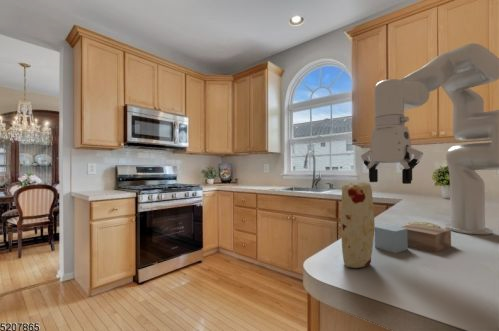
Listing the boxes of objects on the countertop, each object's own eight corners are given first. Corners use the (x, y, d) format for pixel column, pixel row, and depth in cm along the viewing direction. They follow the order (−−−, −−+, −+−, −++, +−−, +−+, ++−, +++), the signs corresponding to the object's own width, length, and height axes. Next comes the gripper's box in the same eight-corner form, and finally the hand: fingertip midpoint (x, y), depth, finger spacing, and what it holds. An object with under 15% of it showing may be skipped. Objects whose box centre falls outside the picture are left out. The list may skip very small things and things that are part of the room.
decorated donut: (451, 237, 82) (451, 226, 82) (424, 239, 80) (424, 228, 80) (423, 229, 92) (423, 219, 92) (399, 231, 90) (398, 221, 90)
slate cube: (386, 244, 75) (386, 224, 75) (407, 249, 70) (407, 228, 70) (374, 247, 72) (374, 226, 72) (395, 253, 67) (395, 231, 67)
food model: (360, 275, 54) (359, 183, 54) (333, 265, 59) (332, 181, 59) (381, 264, 60) (380, 181, 60) (354, 256, 65) (353, 180, 65)
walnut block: (414, 238, 82) (413, 223, 82) (451, 246, 73) (450, 229, 73) (397, 243, 76) (397, 227, 76) (435, 253, 68) (435, 234, 68)
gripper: (429, 120, 66) (429, 184, 66) (369, 129, 81) (369, 181, 81) (414, 116, 62) (414, 184, 62) (354, 127, 77) (354, 181, 77)
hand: (389, 182), depth 71 cm, fingers open, 9 cm apart
